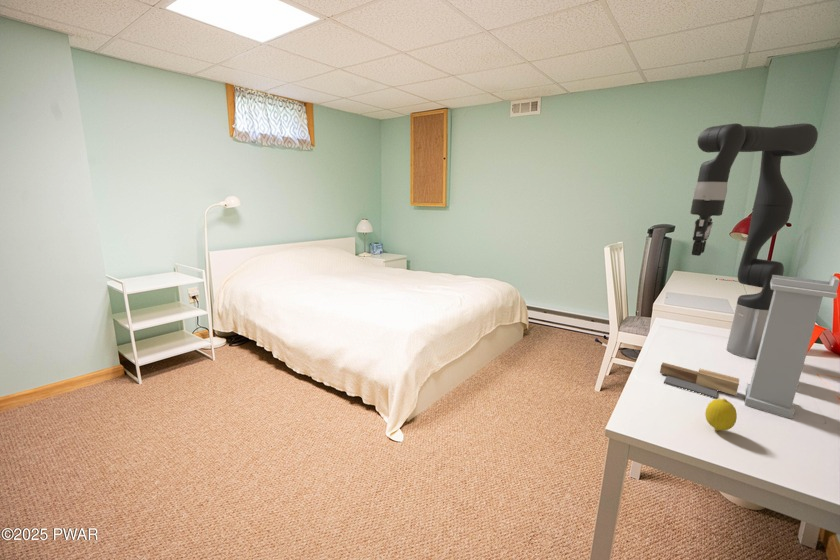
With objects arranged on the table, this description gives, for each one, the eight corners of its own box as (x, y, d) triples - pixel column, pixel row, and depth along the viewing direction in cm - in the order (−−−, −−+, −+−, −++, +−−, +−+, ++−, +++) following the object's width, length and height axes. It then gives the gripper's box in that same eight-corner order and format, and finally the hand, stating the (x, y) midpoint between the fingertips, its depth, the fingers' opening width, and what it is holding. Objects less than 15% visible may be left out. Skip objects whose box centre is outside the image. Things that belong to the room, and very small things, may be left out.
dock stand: (743, 389, 107) (773, 268, 100) (797, 404, 100) (834, 274, 93) (742, 404, 99) (775, 273, 91) (800, 421, 92) (841, 281, 84)
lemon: (696, 423, 90) (703, 392, 88) (718, 423, 90) (725, 392, 89) (716, 438, 84) (723, 405, 83) (738, 437, 85) (747, 405, 83)
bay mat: (671, 367, 120) (672, 366, 119) (719, 380, 112) (719, 379, 112) (663, 383, 109) (663, 381, 109) (715, 398, 102) (715, 396, 102)
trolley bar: (661, 369, 117) (663, 358, 116) (736, 390, 106) (739, 378, 105) (659, 373, 114) (661, 362, 113) (736, 395, 103) (738, 383, 102)
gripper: (696, 198, 117) (686, 250, 121) (689, 197, 107) (679, 254, 111) (726, 199, 113) (715, 253, 116) (723, 198, 102) (711, 258, 106)
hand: (697, 253), depth 113 cm, fingers open, 8 cm apart
